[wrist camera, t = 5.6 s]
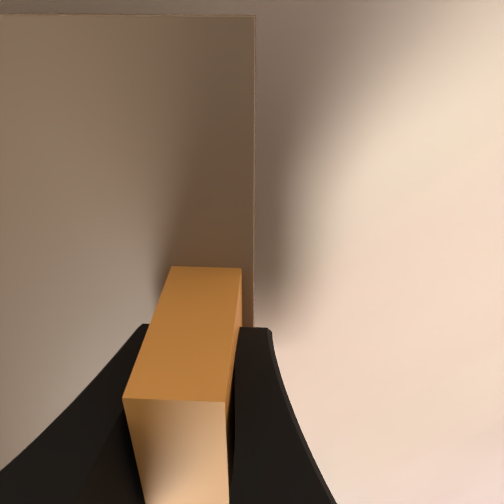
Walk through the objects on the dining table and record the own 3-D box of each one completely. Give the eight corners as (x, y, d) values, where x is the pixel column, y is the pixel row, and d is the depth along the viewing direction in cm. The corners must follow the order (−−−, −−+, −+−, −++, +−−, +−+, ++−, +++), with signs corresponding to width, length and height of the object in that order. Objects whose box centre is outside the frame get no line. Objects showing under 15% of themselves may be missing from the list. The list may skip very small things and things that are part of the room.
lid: (252, 483, 14) (245, 639, 11) (-58, 468, 15) (-159, 614, 11) (256, 15, 7) (237, 42, 4) (-337, 12, 8) (-827, 34, 4)
